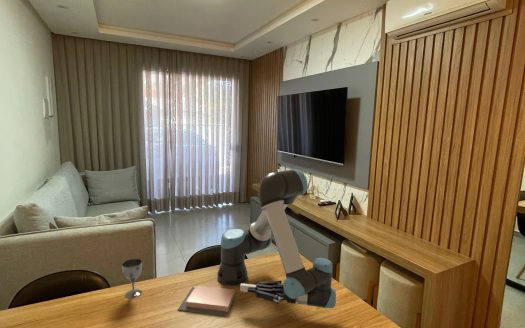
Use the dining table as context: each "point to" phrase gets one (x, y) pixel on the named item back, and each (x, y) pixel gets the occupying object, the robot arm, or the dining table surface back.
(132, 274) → the wine glass
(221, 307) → the tile
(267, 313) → the dining table surface
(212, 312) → the mat
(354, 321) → the dining table surface
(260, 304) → the dining table surface
